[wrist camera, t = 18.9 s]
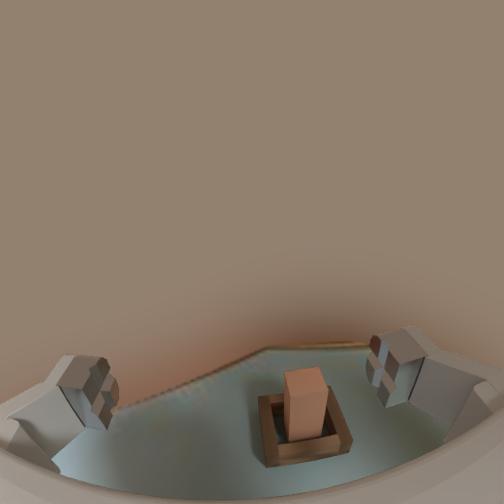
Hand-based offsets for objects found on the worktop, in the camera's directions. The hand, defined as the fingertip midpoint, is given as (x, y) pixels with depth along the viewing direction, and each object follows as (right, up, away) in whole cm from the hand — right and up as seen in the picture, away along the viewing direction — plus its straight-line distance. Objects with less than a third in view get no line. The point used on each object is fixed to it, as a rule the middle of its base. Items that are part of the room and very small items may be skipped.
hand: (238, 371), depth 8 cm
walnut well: (+7, -20, +22) cm, 31 cm away
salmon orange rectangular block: (+7, -20, +22) cm, 31 cm away
